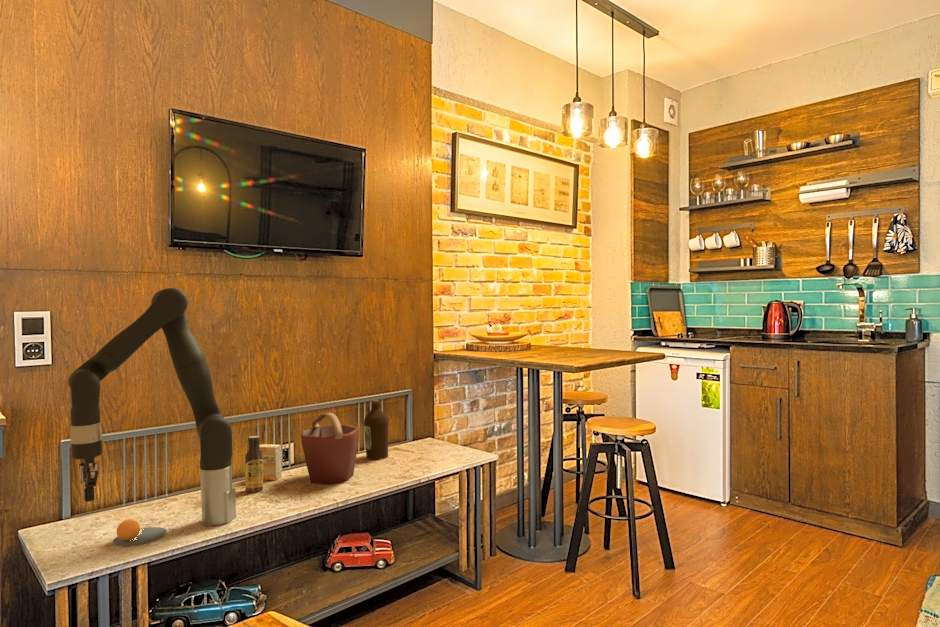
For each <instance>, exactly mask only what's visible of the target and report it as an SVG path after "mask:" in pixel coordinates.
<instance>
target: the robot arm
mask: <svg viewBox="0 0 940 627" xmlns="http://www.w3.org/2000/svg"><path fill="white" fill-rule="evenodd" d="M150 302H151V303H150V306H148V308H147V309H146V310H145V311H144V312H143V314H141V315H140V316H139V317H138V318H137V319H136V320H134V321H133V322H132V323H131V324H129V325H128V326H127V327H126V328H124V329H123V330H121V331H120V332H119V333H117V334H116V335H115V336H114V337H112V338H111V339H110V340H109V341H108V342H107V343H106V344H105V345H104V346H102V347H101V348H100V349H99V350H98V351H97V352H96V353H95V354H94V355H93V356H92V357H89V359H88V360H86V361H85V362H83V363H82V364H81V365H79V366H78V368H76V369H75V370H74V371H73V372H71V374H70V375H69V378H68V381H67V382H68V387H69V388H70V399H71V407H70V433H69V434H70V454H71V459H73V460H80V461H79V462H80V463H78V464H77V465H78V466H77V468H78V472H79V479H80V484H81V486H82V488H83V499H84V501H85V502H86V503H88V502H92V501H93V502H94V500H95V487H97V483H98V476H99V471H98V470H97V469H98V462H96V460H95V458H96V457H100V456H101V455H103V452H104V449H103V448H104V447H103V446H104V445H103V430H102V429H103V428H102V425H101V409H100V397H101V382H102V380H104V379H105V378H106V377H107V376H108V375H109V374H110V373H112V372H115V371H116V370H118V368H120V366H122V365H123V364H124V363H125V362H126V361H127V360H128V359H130V357H132V355H134V354H135V353H136V352H137V351H138V350H139V348H141V347H142V346H143V345H144V344H145V343H146V342H148V340H149V339H150V338H151V337H152V336H154V334H156V333H157V332H158V331H160V330H161V329H162V332H163V334H164V336H165V339H166V344H167V348H168V352H169V354H170V357H171V358H170V359H171V361H172V364H173V365H172V366H173V367H174V370H175V374H176V376H177V379H178V381H179V383H180V386H181V388H182V390H183V393H184V394H185V396H186V399H187V400H188V402H189V404H190V407H191V410H192V413H193V417H194V422H195V426H196V430H197V431H196V432H197V435H198V438H199V439H200V440H199V441H200V459H199V474H200V476H199V478H200V479H199V480H200V497H201V498H200V500H201V503H200V504H201V522H202V525H204V526H218V525H223V524H230V523H231V521H233V520H234V519H235V518H237V504H236V501H237V500H236V488H235V487H234V486H233V473H232V472H233V471H232V470H233V469H232V467H233V466H232V459H233V458H232V457H233V431H232V426H231V424H230V422H229V421H228V420H227V419H226V418H225V417H224V416H223V414H222V411H221V410H220V407H219V405H218V403H217V399H216V397H215V392H214V386H213V380H212V373H211V370H210V367H209V364H208V362H207V359H206V356H205V354H204V352H203V350H202V348H201V346H200V344H199V342H198V341H197V339H196V338H195V336H194V334H193V333H192V331H191V329H190V326H189V323H188V320H187V317H186V313H185V312H186V310H187V309H188V306H189V305H188V304H189V299H188V297H187V295H186V293H185V292H183V290H181V289H179V288H176V287H175V288H174V287H167V288H164V289H160V290H158V291H156V293H154V295H153V296H152V298H151V301H150Z"/></svg>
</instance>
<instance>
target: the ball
mask: <svg viewBox="0 0 940 627" xmlns="http://www.w3.org/2000/svg"><path fill="white" fill-rule="evenodd" d="M140 528H141V526H140V523H139V522H138V521H137V520H135V519H133V518H130V519H129V518H128V519H125V520H123V521H121V522H120V523H119V525H117V528H116V537H117V536H118V537H119V538H120V539H121V540H123V541H129V540H132V539H134V538H135V537H136V536H137V535H138V534H139V531H140Z"/></svg>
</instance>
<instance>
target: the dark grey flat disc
mask: <svg viewBox="0 0 940 627" xmlns="http://www.w3.org/2000/svg"><path fill="white" fill-rule="evenodd" d="M140 528H141V529H142V528H143V529H144V530H143V529H142V532H141V533H142V534H140V535H138V536H136V537H137V538H136V539H137V540H134V539H133V540H134V541H133V540H131V541H130V540H129V541H123V540H121V539H120V538H119V537H118V536H117V535H116V537H115V538H113V540H112V542H113V544H114V545H115V544H116V545H115V546H118V545H122V546H121V547H132V546H131V545H135V546H141V545H145V543H146V544H148V543H149V544H150V543H152V542H155V541H157V539H158V540H160V539H161V537H162V538H163V537H164V536H166V535H167V531H168V530H167V529H166V528H164V527H161V526H160V527H159V526H150V527H149V526H148V527H140ZM159 538H160V539H159ZM140 544H141V545H140Z"/></svg>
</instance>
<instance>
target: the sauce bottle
mask: <svg viewBox="0 0 940 627" xmlns="http://www.w3.org/2000/svg"><path fill="white" fill-rule="evenodd" d="M260 440H261V437H260V435H250V436H248V438H247V441H248V449H247V452H246V454H245V463H244V487H245V492H246V493H258V492H262V490H263V486H264V480H263V455H262V452H261V450H260V446H259V445H260Z"/></svg>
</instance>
